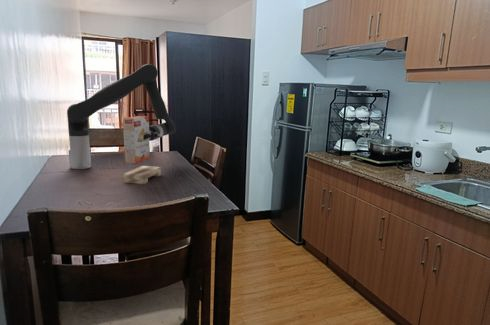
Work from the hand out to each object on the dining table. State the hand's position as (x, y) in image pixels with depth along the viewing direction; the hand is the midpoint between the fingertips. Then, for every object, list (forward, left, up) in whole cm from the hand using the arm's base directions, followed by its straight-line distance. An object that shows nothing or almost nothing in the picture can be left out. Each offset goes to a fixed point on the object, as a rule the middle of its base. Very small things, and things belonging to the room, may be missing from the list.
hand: (137, 136), depth 153 cm
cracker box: (0, 0, -12) cm, 12 cm away
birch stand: (+3, -1, -20) cm, 20 cm away
